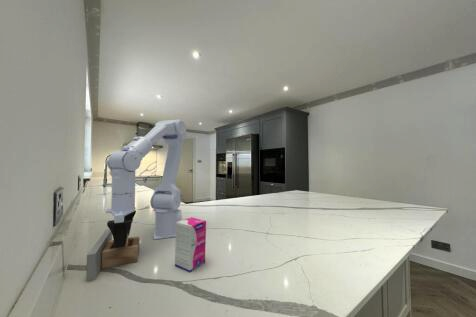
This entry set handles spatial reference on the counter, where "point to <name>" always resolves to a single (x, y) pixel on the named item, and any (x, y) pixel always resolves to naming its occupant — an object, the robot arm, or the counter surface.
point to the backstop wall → (97, 255)
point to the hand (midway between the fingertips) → (122, 241)
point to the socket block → (121, 253)
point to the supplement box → (190, 243)
